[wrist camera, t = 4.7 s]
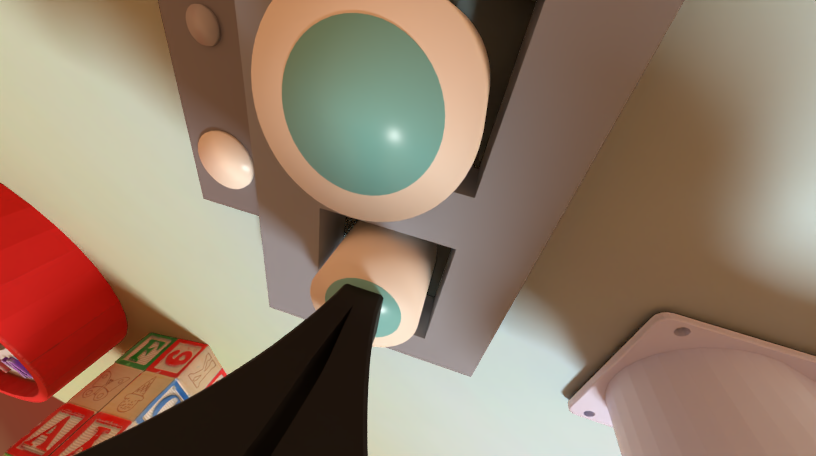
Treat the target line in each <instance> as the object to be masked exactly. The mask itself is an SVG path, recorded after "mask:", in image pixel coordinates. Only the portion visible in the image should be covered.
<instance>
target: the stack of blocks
mask: <svg viewBox="0 0 816 456" xmlns="http://www.w3.org/2000/svg"><path fill="white" fill-rule="evenodd" d="M225 376H227V375H226V373H225V372H224V370H223V368H222V366H221V365H220V363H219V361H218V360H217V358H216V356H215V355H214V353H213V351H212V350H211V348H210V346H209V345H207V344H202V343H198V342H193V341H188V340H183V339H177V338H173V337H168V336H164V335H159V334H154V333H149V334H148V335H147V336H146V337H144V338H143V339H142V340H141V341H139V342H138V343H137V344H136V345H135V346H133V347H132V348H131V349H130V350H128V351H127V352H126V353H125V354H124V355H122V356H121V357H120V358H119V359H118V360H116V361H115V363H114V364H113V365H112V366H110V367H109V368H108V369H106V370H105V371H104V372H103V373H101V374H100V375H99V376H98V377H96V378H95V379H94V380H93V381H92V382H90V383H89V384H88V385H87V386H85V387H84V388H83V389H82V390H81V391H79V392H78V393H77V394H76V395H75V396H73V397H72V398H71V399H70V400H69V401H68V402H67V403H65V404H63V405H62V406H60V407H59V408H58V409H57V410H55V411H54V412H53V413H52V414H50V415H49V416H48V417H46V418H45V419H44V420H43V421H42V422H41V423H40V424H39V425H37V426H36V427H35V428H33V429H32V430H31V431H29V432H28V433H27V435H26V436H24V437H23V438H21V439H20V440H19V441H18V442H16V443H15V444H14V445H13V446H11V447H10V448H9V449H8V450H7V451H6V453H5V454H4V455H3V456H73V455H75V454H78V453H80V452H82V451H84V450H86V449H88V448H90V447H92V446H94V445H97V444H99V443H101V442H103V441H105V440H107V439H109V438H111V437H113V436H116V435H118V434H120V433H122V432H124V431H126V430H128V429H130V428H132V427H134V426H136V425H138V424H140V423H142V422H144V421H146V420H148V419H150V418H152V417H154V416H156V415H157V414H159V413H161V412H163V411H165V410H167V409H169V408H171V407H173V406H174V405H176V404H178V403H180V402H182V401H184V400H186V399H188V398H189V397H191V396H193V395H195V394H196V393H198V392H200V391H202V390H203V389H205V388H207V387H209V386H210V385H212V384H214V383H215V382H217V381H218V380H220V379H222V378H223V377H225Z"/></svg>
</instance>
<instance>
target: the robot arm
mask: <svg viewBox="0 0 816 456" xmlns="http://www.w3.org/2000/svg"><path fill="white" fill-rule="evenodd" d="M382 303H383V297H382V295H381V294H377V293H374V292H371V291H368V290H365V289H362V288H359V287H356V286H353V285H350V284H345V285H343V286H342V287H341V288H340V289H339V290H338V291H337V292H336V293H335V294H334V295H333V296H332V297H331V298H330V299H329V300H328V301H326V302H325V303H324V304H323V305H322V306H321V307H320V308H319V309H317V310H316V311H315V312H314V313H313V314H312V315H310V316H309V317H308V318H307V319H305V320H304V321H303V322H302V323H301V324H299V325H298V326H297V327H296V328H294V329H293V330H292V331H291V332H289V333H288V334H287V335H285V336H284V337H283V338H281V339H280V340H279V341H277V342H276V343H275V344H273V345H272V346H270V347H269V348H268V349H266V350H265V351H263V352H262V353H261V354H259V355H258V356H256V357H255V358H253V359H252V360H250V361H249V362H247V363H246V364H244V365H243V366H241V367H240V368H238V369H236V370H235V371H233V372H232V373H230V374H228V375H227V376H225V377H223V378H222V379H220V380H218V381H217V382H215V383H214V384H212V385H210V386H209V387H207V388H205V389H203V390H202V391H200V392H198V393H196V394H195V395H193V396H191V397H189V398H188V399H186V400H184V401H182V402H180V403H178V404H176V405H174V406H173V407H171V408H169V409H167V410H165V411H163V412H161V413H159V414H157V415H156V416H154V417H152V418H150V419H148V420H146V421H144V422H142V423H140V424H138V425H136V426H134V427H132V428H130V429H128V430H126V431H124V432H122V433H120V434H118V435H116V436H113V437H111V438H109V439H107V440H105V441H103V442H101V443H99V444H97V445H94V446H92V447H90V448H88V449H86V450H84V451H82V452H80V453H78V454H75V455H73V456H368V451H367V406H368V382H369V367H370V356H371V349H372V345H373V342H374V339H375V336H376V333H377V328H378V323H379V318H380V313H381V308H382ZM681 327H682V328H681ZM677 328H678V329H677ZM568 407H569V411H571V412H572V413H573V414H575V415H578V416H581V417H584V418H587V419H590V420H593V421H596V422H598V423H601V424H604V425H607V426H610V427H613V428H614V431H615V434H616V438H617V441H618V444H619V448H620V451H621V454H622V456H816V356H813V355H810V354H807V353H803V352H800V351H797V350H793V349H790V348H787V347H783V346H780V345H777V344H774V343H770V342H767V341H764V340H760V339H757V338H754V337H751V336H747V335H744V334H741V333H737V332H734V331H731V330H727V329H724V328H721V327H718V326H714V325H711V324H708V323H704V322H701V321H698V320H694V319H691V318H688V317H685V316H681V315H678V314H675V313H670V312H661V313H658V314H656V315H654V316H653V317H652V318H651V319H650V320H649V321H648V322H647V323H646V324H645V325H644V326H643V327H642V328H641V329H640V330H639V331H638V332H637V333H636V334H635V335H634V336H633V337H632V338H631V339H630V340H629V341H628V342H627V343H626V344H625V345H624V346H623V347H622V348H621V349H620V350H619V351H618V352H617V353H616V354H615V355H614V356H613V357H612V358H611V359H610V360H609V361H608V362H607V363H606V364H605V365H604V366H603V367H602V368H601V369H600V370H599V371H598V372H597V373H596V374H595V375H594V376H593V377H592V378H591V379H590V380H589V381H588V382H587V383H586V384H585V385H584V386H583V387H582V388H581V389H580V390H579V391H578V392H577V393H576V394H575V395H574V396H573V397H572V398H571V399H570V400H569V401H568Z"/></svg>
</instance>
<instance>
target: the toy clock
mask: <svg viewBox="0 0 816 456" xmlns="http://www.w3.org/2000/svg"><path fill="white" fill-rule="evenodd" d="M126 334H127V320H126V315H125V313H124V310H123V308H122V306H121V303H120V301H119V300H118V298H117V296H116V295H115V293H114V291H113V290H112V288H111V286H110V285H109V284H108V282H107V281H106V280H105V278H104V277H103V276H102V274H101V273H100V272H99V271H98V269H97V268H96V267H95V266H94V265H93V263H92V262H91V261H90V260H89V259H88V258H87V257H86V256H85V255H84V253H83V252H82V251H81V250H80V249H79V248H78V247H77V246H76V245H75V244H74V243H73V242H72V241H71V240H70V239H69V238H68V237H67V236H66V235H65V234H64V233H63V232H62V231H60V230H59V229H58V228H57V227H56V226H55V225H54V224H53V223H52V222H50V221H49V220H48V219H47V218H46V217H44V216H43V215H42V214H41V213H40V212H39V211H37V210H36V209H35V208H34V207H33V206H31V205H30V204H29V203H27V202H26V201H25V200H23V199H22V198H21V197H19V196H18V195H17V194H15V193H14V192H12V191H11V190H10V189H8V188H7V187H6V186H4V185H3V184H1V183H0V392H1V393H4V394H6V395H9V396H12V397H15V398H18V399H22V400H26V401H30V402H43V401H46V400H47V399H49V398H50V397H51V396H52V395H54V394H55V393H56V392H58V391H59V390H60V389H61V388H63V387H64V386H65V385H66V384H68V383H69V382H70V381H71V380H73V379H74V378H75V377H76V376H78V375H79V374H80V373H82V372H83V371H84V370H85V369H87V368H88V367H89V366H90V365H92V364H93V363H94V362H95V361H97V360H98V359H99V358H100V357H102V356H103V355H104V354H105V353H107V352H108V351H109V350H111V349H112V348H113V347H114V346H116V345H117V344H118V343H119V342H121V341H122V340H123V338H124V337H125V336H126Z"/></svg>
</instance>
